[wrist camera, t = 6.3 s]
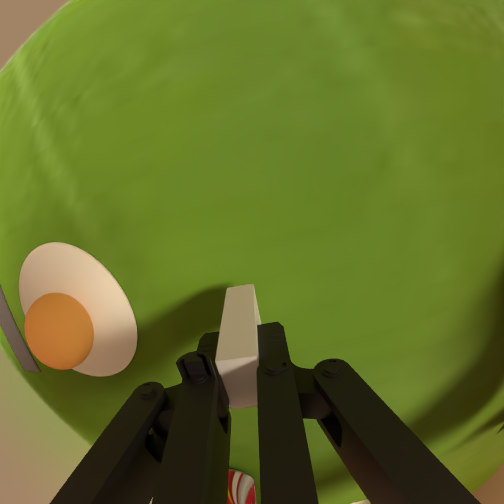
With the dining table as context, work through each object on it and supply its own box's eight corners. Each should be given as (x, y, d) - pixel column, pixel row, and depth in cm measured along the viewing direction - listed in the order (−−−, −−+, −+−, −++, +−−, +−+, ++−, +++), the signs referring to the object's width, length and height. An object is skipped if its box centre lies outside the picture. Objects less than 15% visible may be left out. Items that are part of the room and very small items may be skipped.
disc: (106, 226, 16) (105, 226, 16) (159, 374, 20) (159, 376, 20) (4, 256, 17) (3, 257, 17) (55, 372, 20) (54, 373, 20)
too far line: (-8, 261, 17) (-10, 261, 17) (40, 371, 20) (39, 372, 20) (-21, 265, 17) (-22, 266, 17) (25, 369, 21) (24, 370, 20)
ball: (80, 274, 18) (71, 298, 14) (104, 336, 20) (107, 372, 15) (23, 294, 16) (2, 322, 11) (50, 353, 18) (41, 392, 13)
